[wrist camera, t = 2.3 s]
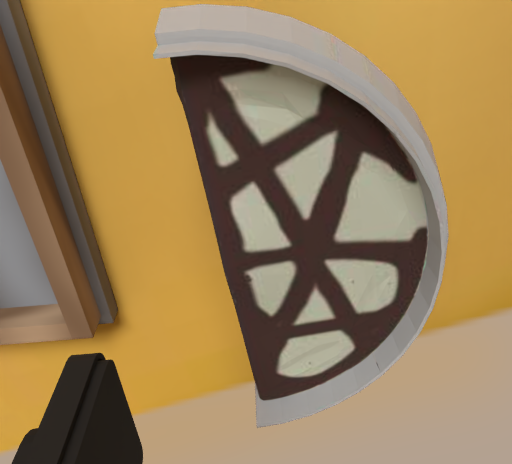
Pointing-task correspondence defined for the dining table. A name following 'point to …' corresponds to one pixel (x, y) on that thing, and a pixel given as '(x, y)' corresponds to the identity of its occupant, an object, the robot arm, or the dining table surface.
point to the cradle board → (41, 209)
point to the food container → (309, 200)
